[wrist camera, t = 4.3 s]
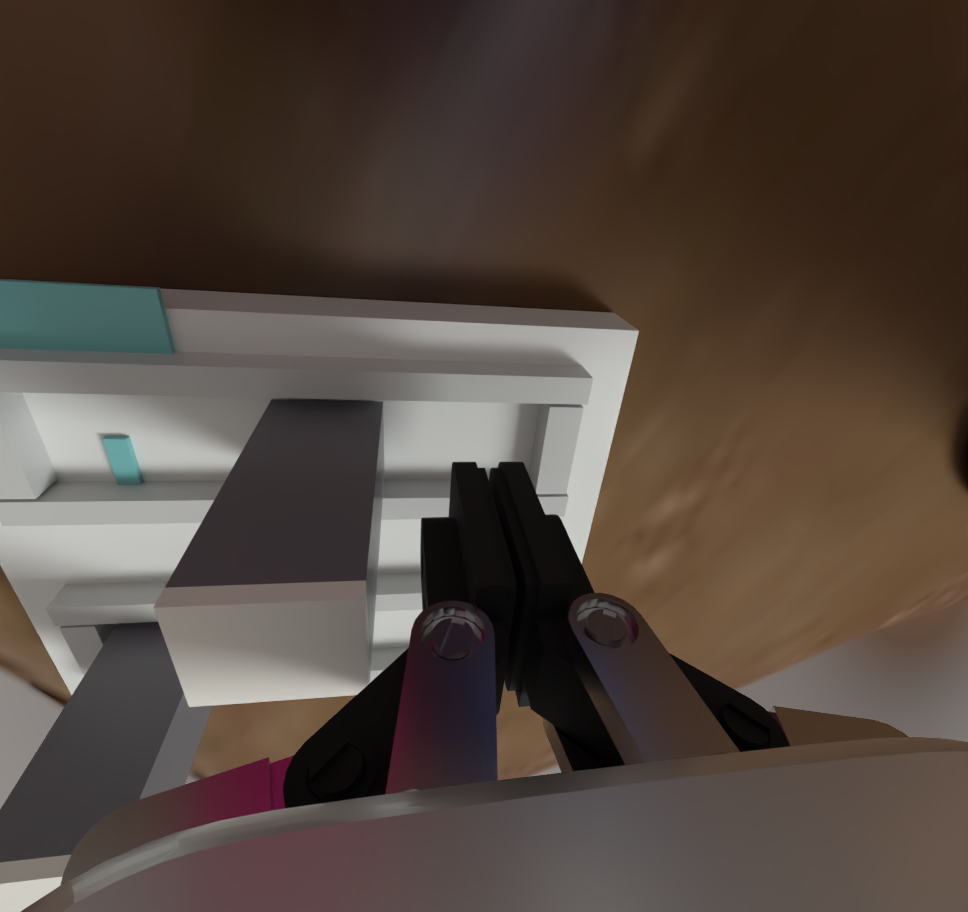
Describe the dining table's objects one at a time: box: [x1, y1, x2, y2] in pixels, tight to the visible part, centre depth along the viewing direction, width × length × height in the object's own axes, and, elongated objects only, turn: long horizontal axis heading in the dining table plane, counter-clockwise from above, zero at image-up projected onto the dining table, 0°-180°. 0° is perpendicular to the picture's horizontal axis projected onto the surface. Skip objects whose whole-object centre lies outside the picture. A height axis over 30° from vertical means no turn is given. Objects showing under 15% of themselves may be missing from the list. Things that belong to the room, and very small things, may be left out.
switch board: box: [0, 279, 639, 695], centre depth 17 cm, size 19×16×3 cm
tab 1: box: [0, 622, 213, 912], centre depth 14 cm, size 3×2×7 cm
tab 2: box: [153, 399, 385, 707], centre depth 11 cm, size 3×2×7 cm
